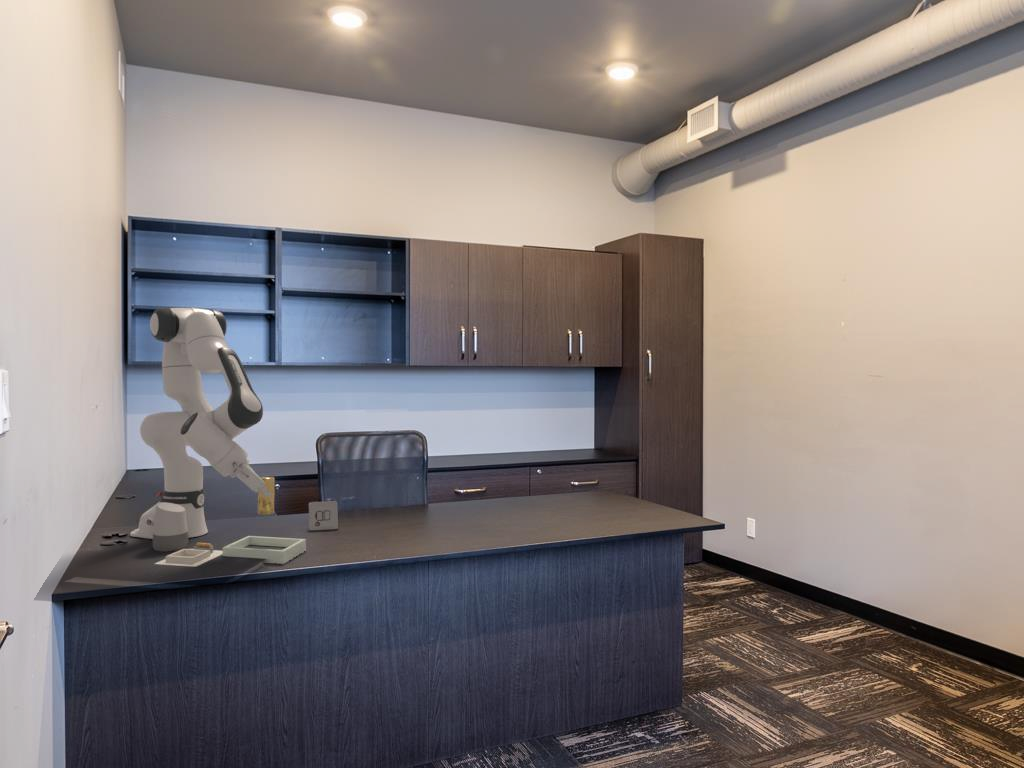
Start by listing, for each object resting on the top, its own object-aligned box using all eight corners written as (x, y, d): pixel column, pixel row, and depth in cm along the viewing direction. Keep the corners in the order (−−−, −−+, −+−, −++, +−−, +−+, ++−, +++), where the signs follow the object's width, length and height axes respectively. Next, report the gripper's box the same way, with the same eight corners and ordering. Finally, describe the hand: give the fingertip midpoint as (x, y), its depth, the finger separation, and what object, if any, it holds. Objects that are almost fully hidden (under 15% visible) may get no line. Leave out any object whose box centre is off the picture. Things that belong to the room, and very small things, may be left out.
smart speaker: (180, 556, 200) (181, 506, 200) (146, 556, 199) (147, 506, 199) (193, 547, 209) (193, 500, 209) (160, 547, 209) (161, 500, 208)
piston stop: (255, 514, 200) (255, 478, 200) (262, 511, 204) (262, 476, 204) (269, 514, 199) (269, 479, 199) (277, 511, 204) (277, 477, 203)
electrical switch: (308, 531, 232) (309, 502, 233) (307, 529, 237) (307, 501, 238) (338, 529, 236) (338, 501, 236) (336, 528, 240) (336, 500, 241)
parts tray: (222, 560, 197) (222, 547, 196) (248, 547, 210) (248, 535, 210) (283, 564, 194) (283, 551, 194) (305, 551, 208) (305, 539, 208)
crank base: (153, 568, 188) (153, 553, 187) (189, 552, 203) (189, 539, 203) (195, 571, 186) (196, 556, 186) (228, 555, 202) (228, 541, 202)
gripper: (244, 457, 189) (282, 491, 194) (236, 449, 207) (271, 480, 212) (226, 474, 187) (265, 509, 192) (220, 465, 205) (255, 496, 210)
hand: (268, 494), depth 202 cm, fingers closed on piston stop, 4 cm apart
